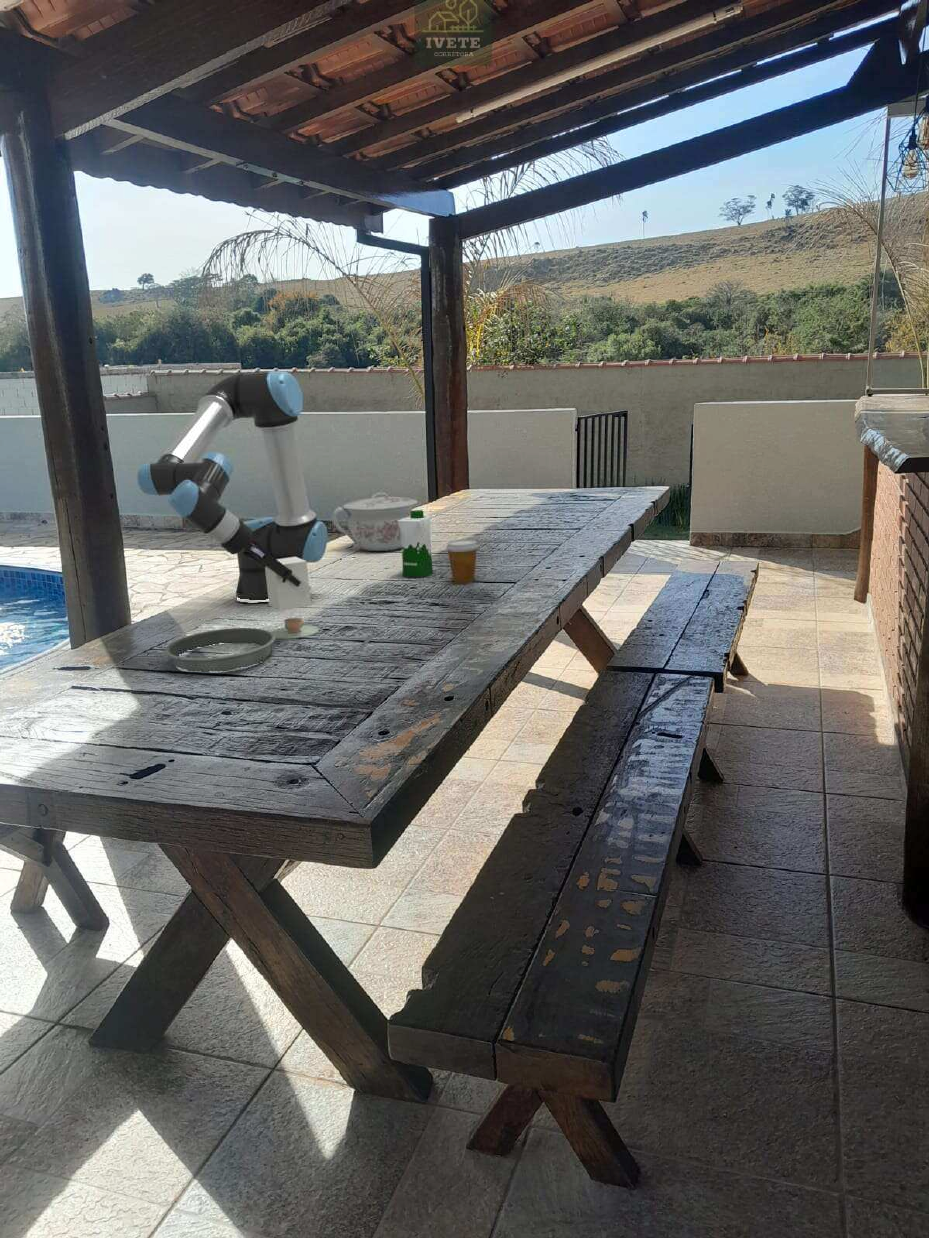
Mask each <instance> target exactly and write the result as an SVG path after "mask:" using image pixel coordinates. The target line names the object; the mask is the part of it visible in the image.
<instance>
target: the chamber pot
mask: <svg viewBox="0 0 929 1238" xmlns="http://www.w3.org/2000/svg"><path fill="white" fill-rule="evenodd" d="M418 502H419V501H418V500H417V499H413V498H409V497H402V496H388V494H387V493H385V492H376V493H374V494H373V495H371V497H369V498H363V499H357V500H353V501H350V502H348V503H345V504H344V505H343V506H337V508H335V509H334V511H333V513H332V523H333V525H334V527H335V528H336V529H337V530H338V532H341V533H342V534H344V535H346V537H348V538H350V540H351V541H352V542H353V543H355V544H356V545H357V546H358V547H359V548H360V549H362V550H364V551H367V552H371V551H385V552H392V551H397V549H398V550H400V549H402V546H401V533H400V529H399V525H398V520H401V519H403V518H407V517H411V511H413V510H412V508H413V506H415V505H417V504H418ZM340 513H344V514H345V515H346V521H347V524H348V525H347V526H348V529H349V531H348V530H346V529H344V528H342V526H341V525H340V524H339V522H338V517H337V516H338V514H340Z"/></svg>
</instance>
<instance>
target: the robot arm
mask: <svg viewBox="0 0 929 1238" xmlns="http://www.w3.org/2000/svg"><path fill="white" fill-rule="evenodd" d="M303 403H304V397H303V392H302V389H301V386H300V384H299V382H298V380H297V379H296V378H295V377H294V376H293V374H291V373H290V372H288V371H275V370H272V371H262V372H261V371H259V372H247V373H235V374H231V375H229V376H227V377H225V378H223V379H221V380H219V381H218V382H217V383H215V384H214V385H212V386H211V388H209V389H208V390H207V391H206V392H205V394H204V395H202V396H201V398H200V399H199V401H198V405H197V410H196V411H195V412H194V414H193V415H192V416H191V418H190V419H189V420H188V421H187V423H186V424H185V425H184V426H183V428H182V429H181V430H180V432H179V433H178V434H177V436H176V437H175V438H174V439H173V440H172V442H171V444H169V446H168V447H167V448H166V450H165V451H164V452H163V453H162V455H161V456H160V458H159V459H158V460H157V461H156V462H149V463H145V464H142V465H141V466H140V467H139V468H138V471H137V474H136V475H137V477H136V478H137V484H138V486H139V489H140V490H141V492H142V493H143V494H146V495H147V496H148V495H149V496H169V498H168V504H169V506H170V507H171V508H172V509H173V510H174V511H175V512H176V513H177V514H179V516H180V517H181V518H183V519H185V521H188V522H189V523H190V524H192V525H193V526H194V527H196V528H197V529H198V530H200V531H201V532H203V534H206V535H207V540H208V541H212V540H213V541H214V542H216V544H218V545H219V544H220V546H221V548H223V549H224V550H225V551H227V552H228V553H229V554H231V555H237V563H238V571H239V576H238V580H237V585H236V589H235V598H236V597H238V598H240V599H249V600H266V599H268V590H267V581H266V572H265V566H266V567H268V568H269V569H270V570H272V571H273V572H275V573H276V574H277V575H279V576H280V577H281V578H283V581H282V582H283V583H285V582H286V583H288V584H289V585H290V586H292V587H293V588H294V589H295V590H297V591H298V592H299V593H301V594H302V595H303V596H306V595H307V593H308V592H309V591H310V590H312V587H311V586H310V584H309V585H308V584H306V583H305V582H304V581H302V580H301V579H300V578H299V577H297V576H296V575H295V574H294V573H292V570H289V569H288V568H287V567H286V566H284V565H283V564H282V563H280V562H279V561H278V560H276V559H283V558H290V557H297V558H300V559H302V560H305V561H307V564H311V563H313V564H314V563H317V562H319V561H321V560H322V559H323V557H324V555H325V552H326V550H327V549H326V548H327V544H328V528H327V526H326V525H325V524H326V523H324V522H323V521H320V520H319V521H318V519H317V514H316V513H315V511H313V510H312V509H310V504H309V501H308V495H307V490H306V484H305V479H304V474H303V469H302V464H301V459H300V451H299V448H298V442H297V436H296V432H295V426H296V424H297V423H298V421H299V418H298V416H299V415H300V414H301V413H302V412H303V408H304V405H303ZM249 418H252V419H253V422H254V427H255V428H256V429H258V430H259V431H261V433H262V436H263V437H262V439H263V443H264V447H265V453H266V457H267V462H268V467H269V473H270V477H271V482H272V486H273V491H274V495H275V502H276V506H277V507H276V508H277V511H278V515H277V516H276V518H275V517H274V516H273V517H272V516H266V517H261V518H256V519H251V520H246V521H241V520H240V519H239V517H237V516H236V515H234V513H232V512H231V511H230V510H229V509H227V508H225V507H224V505H222V504H221V503H220V502H219V500H220V499H221V497H222V496H223V493H224V491H225V490H226V488H227V486H228V484H229V482H230V479H231V476H232V474H233V472H234V467H233V464H232V462H231V460H230V459H229V458H228V457H227V456H226V455H224V454H222V453H219V452H218V451H217V452H215V451H214V452H209V453H207V454H205V452H206V450H207V449H208V448H209V447H210V446H211V444H212V443H213V441H215V438H216V437H217V435H219V433H220V432H221V430H222V429H224V428H226V427H228V426H229V425H231V423H232V422H233V421H235V420H239V419H249ZM204 454H205V455H204ZM203 455H204V456H203ZM202 456H203V457H202ZM200 459H201V461H199V460H200ZM286 571H287V572H286Z"/></svg>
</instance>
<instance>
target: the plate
mask: <svg viewBox="0 0 929 1238" xmlns="http://www.w3.org/2000/svg"><path fill="white" fill-rule="evenodd" d="M270 632H271V633H273V634H274V635H275V637H276V638H275V639H285V640H286V639H297V638H298V639H299V638H303V637H308V636H311V635H315V634H316V633H318V632H319V627H317V626H315V625H310V624H309V625H307V624H303V627H301V632H298V633H288V629H285V626H283V627H279V628H276V629H274V630H272V631H270Z"/></svg>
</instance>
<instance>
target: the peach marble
mask: <svg viewBox="0 0 929 1238" xmlns="http://www.w3.org/2000/svg"><path fill="white" fill-rule="evenodd" d="M283 623H284V627H285V629H288V633H298V632H301V627H303V625H304V624H303V618H302V617H290V618H286V619H284V620H283Z"/></svg>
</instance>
